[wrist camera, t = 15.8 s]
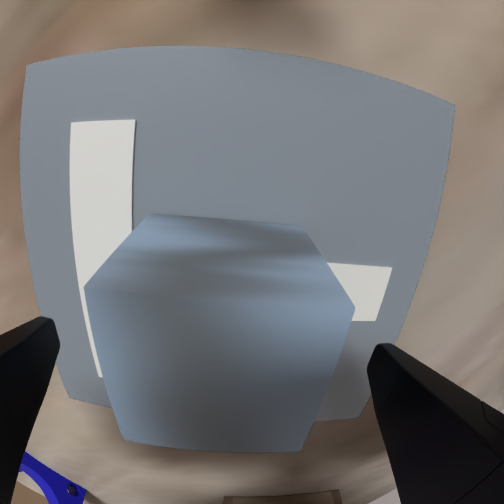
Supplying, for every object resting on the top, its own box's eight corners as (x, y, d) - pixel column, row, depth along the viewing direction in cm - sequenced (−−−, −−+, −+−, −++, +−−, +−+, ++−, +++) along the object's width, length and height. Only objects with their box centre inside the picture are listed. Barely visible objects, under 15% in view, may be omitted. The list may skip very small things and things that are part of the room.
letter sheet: (450, 105, 9) (456, 104, 8) (357, 413, 15) (359, 419, 14) (31, 65, 7) (25, 64, 7) (70, 394, 13) (68, 398, 13)
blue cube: (302, 226, 10) (355, 307, 5) (279, 346, 12) (300, 451, 7) (149, 213, 10) (83, 286, 5) (154, 337, 11) (123, 439, 7)
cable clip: (-22, 426, 16) (-43, 466, 11) (-16, 416, 15) (-40, 462, 10) (70, 490, 20) (59, 532, 15) (86, 488, 19) (75, 534, 14)
